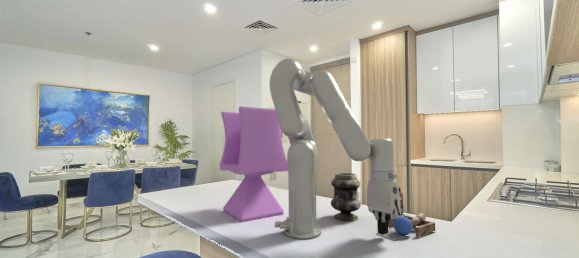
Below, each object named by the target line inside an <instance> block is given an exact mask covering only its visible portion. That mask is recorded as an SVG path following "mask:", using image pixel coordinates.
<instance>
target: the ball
mask: <svg viewBox="0 0 579 258" xmlns="http://www.w3.org/2000/svg"><path fill="white" fill-rule="evenodd" d="M392 228H393V230H395V231H396V232H397V233H399V234H401V235H410V234H411V232H412V231H413V226H412V222H411V221H410V220H409V219H408V218H407V217H404V216H400V215H398V218H395V219H394V221H393V227H392Z"/></svg>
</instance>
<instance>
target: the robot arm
mask: <svg viewBox="0 0 579 258" xmlns="http://www.w3.org/2000/svg"><path fill="white" fill-rule="evenodd" d="M269 76H270V77H269V92H270V96H271V100H272V103H273V106H274V109H275V111H276V114H277V117H278V120H279V124H280V128H281V130H282V131H281V133H283V135H284V136H285V137H287V138H288V141H289V147H288V150H287V153H286V160H287V163H288V171H287V173H288V175H287V176H288V217H286V218H285V219H286V220H285V219H284V220H283V221H275V222H274V228H279V230H283V233H284V234H285V236H287V237H289V238H294V239H301V240H302V239H303V240H304V239H313V238H317V237H319V236H320V235H321V234H322V229H321V228H320V227H319V226H318V225H317V173H316V172H317V171H316V160H317V158H318V156H319V155H318V154H319V152H318V148H317V144H316V140H315V137H314V135H313V132H312V128H311V126H310V123H309V120H308V119H307V118H306V117H305V116H304V114H303V112H302V110H301V108H300V104H299V102H298V98H297V95H296V91H297V92H299V93H302V94H306V95H309V96H311V97H314V98H315V99H316V101H317V103H318V105H319V107H320V108H321V111H322V113H323V114H324V116H325V119H326V120H327V122H328V123H329V124H330V126H332V129H333V130H334V132H335V134H336V136H337V137H338V138H339V141H340V143H341V145H342V146H343V148H344V150H345V153H346V154H347V156H348V157H349V159H351V160H353V161H355V162H363V161H365V160H367V159H368V161H369V179H368V180H367V188H366V206H367V209H368V212H370V213H372V214H373V216H374V218H375V220H376V222H377V223H376V224H377V225H376V226H377V227H376V228H377V233H379V234H382V235H384V234H387V233H388V230H389V228H388V221H390V219H391V218H398V216H399V215H398V212H400V195H399V189H398V187H399V186H398V182H397V181H396V180H395V179H397V178H398V175H397V174H396V173H395V168H394V167H395V162H394V161H395V158H394V157H395V156H394V153H395V152H394V151H395V150H394V141H393V140H392V139H391V138H381V137H379V138H376V137H375V138H372V139H371V138H370V139H368V138H367V136H366V135H365V133H364V131H363V129H362V127H361V125H360V123H359V121H358V120H357V119H356V117H355V115H354V113H353V111H352V109H351V107H350V106H349V104H348V102H347V101H346V99H345V97H344V95H343V93H342V92H341V90H340V88H339V85H338V84H337V83H336V80H335V79H334V77H333V75H332V74H331V73H330V72H329V71H328V70H324V69H322V70H321V69H320V70H319V69H318V70H316V71H315V72H310V71H307V70H304V69H303V67H302V65H301V64H300V63H299V62H298V61H297V60H296V59H294V58H290V57H289V58H283V59H281V60H280V61H279V62H278V63H277V64H275V66H274V68H273V69H272V71H271V74H270V75H269Z"/></svg>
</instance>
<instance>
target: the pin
mask: <svg viewBox="0 0 579 258" xmlns="http://www.w3.org/2000/svg"><path fill="white" fill-rule="evenodd" d="M413 217H414V218H413V219H411V220H410V221H411V222H412V226H413V228H415V226H416V225H418V224H419V223H421V222H422V221H423V220H426V219H427V218H426V215H425V214H424V213H423V212H420V213H418V214H417V215H415V216H413ZM413 228H412V229H413Z"/></svg>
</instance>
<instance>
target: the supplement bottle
mask: <svg viewBox="0 0 579 258" xmlns="http://www.w3.org/2000/svg"><path fill="white" fill-rule="evenodd" d="M398 189H399V195H400V212H398V216H400V215H401V214H402V215H404V193H403V192H402V191H401V187H400V186H398ZM400 213H401V214H400Z"/></svg>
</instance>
